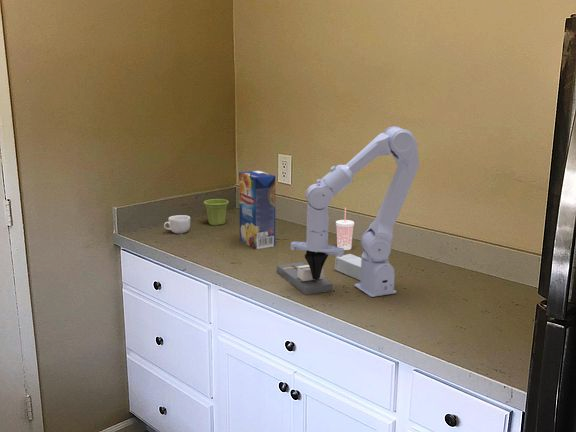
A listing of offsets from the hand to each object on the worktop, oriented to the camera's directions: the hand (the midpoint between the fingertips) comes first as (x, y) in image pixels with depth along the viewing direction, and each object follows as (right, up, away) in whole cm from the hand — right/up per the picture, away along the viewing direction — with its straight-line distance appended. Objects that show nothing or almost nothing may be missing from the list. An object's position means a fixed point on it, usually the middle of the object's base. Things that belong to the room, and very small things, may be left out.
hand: (316, 278), depth 164 cm
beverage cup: (+11, +6, +40) cm, 41 cm away
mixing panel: (-3, -2, +8) cm, 9 cm away
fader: (-1, 0, +4) cm, 4 cm away
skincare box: (+9, +3, +19) cm, 21 cm away
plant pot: (-35, +14, +70) cm, 79 cm away
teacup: (-48, +11, +57) cm, 75 cm away
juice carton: (-18, +7, +44) cm, 48 cm away
